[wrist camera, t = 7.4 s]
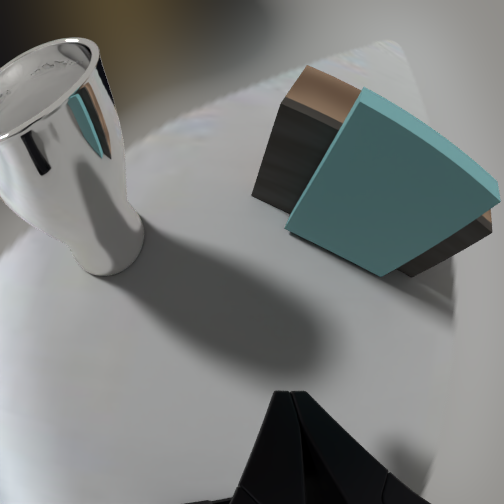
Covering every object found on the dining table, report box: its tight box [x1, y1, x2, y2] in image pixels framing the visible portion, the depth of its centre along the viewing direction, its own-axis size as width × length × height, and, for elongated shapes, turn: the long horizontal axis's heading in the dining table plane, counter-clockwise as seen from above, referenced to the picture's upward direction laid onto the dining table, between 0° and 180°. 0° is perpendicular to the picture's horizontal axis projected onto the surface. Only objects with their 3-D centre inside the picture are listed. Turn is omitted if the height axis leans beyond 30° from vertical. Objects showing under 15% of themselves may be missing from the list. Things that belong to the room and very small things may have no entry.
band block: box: [251, 65, 492, 277], centre depth 20 cm, size 6×16×10 cm, turn 66°
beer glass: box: [0, 38, 144, 276], centre depth 14 cm, size 7×7×15 cm
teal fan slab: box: [284, 87, 501, 277], centre depth 18 cm, size 7×9×13 cm
